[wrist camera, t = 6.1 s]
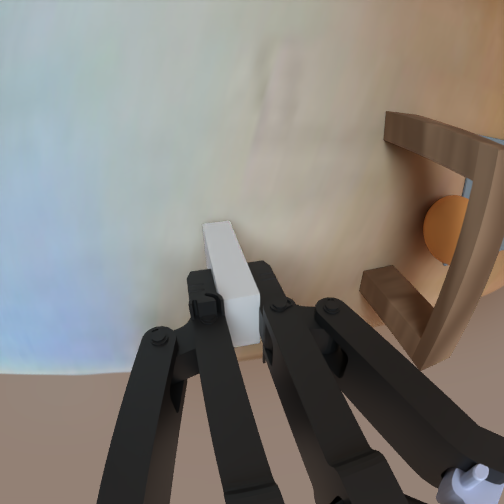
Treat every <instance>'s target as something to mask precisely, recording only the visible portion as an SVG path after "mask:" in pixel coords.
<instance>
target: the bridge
mask: <svg viewBox="0 0 504 504" xmlns="http://www.w3.org/2000/svg"><path fill="white" fill-rule="evenodd" d="M384 140H385V141H388V142H390V143H393V144H395V145H398V146H400V147H402V148H405V149H407V150H409V151H412V152H414V153H416V154H419V155H421V156H423V157H425V158H427V159H430V160H432V161H434V162H436V163H438V164H440V165H442V166H444V167H446V168H448V169H450V170H452V171H454V172H456V173H458V174H460V175H462V176H464V177H466V178H468V179H470V180H472V181H473V183H472V188H471V192H470V197H469V201H468V205H467V209H466V213H465V217H464V221H463V224H462V228H461V231H460V235H459V238H458V242H457V245H456V248H455V251H454V255H453V258H452V261H451V264H450V267H449V270H448V272H447V275H446V278H445V281H444V284H443V286H442V289H441V292H440V294H439V297H438V299H437V302H436V304H435V307H434V308H433V307H432V306H431V304H430V303H429V302H428V301H427V300H426V299H425V298H424V297H423V296H422V295H421V294H420V293H419V292H418V291H417V290H416V289H415V288H414V286H413V285H412V284H411V283H410V282H409V281H408V280H407V279H406V278H405V277H404V276H403V275H402V274H401V273H400V272H399V271H398V270H397V269H396V268H395V267H394V266H393V265H392V266H387V267H382V268H377V269H372V270H367V271H364V272H363V277H362V281H361V286H360V290H359V291H360V292H361V294H362V295H363V296H364V297H365V299H366V300H367V301H368V302H369V304H370V305H371V306H372V308H373V309H374V310H375V311H376V313H377V314H378V315H379V317H380V318H381V319H382V321H383V322H384V323H385V324H386V326H387V327H388V328H389V330H390V331H391V332H392V334H393V335H394V336H395V338H396V339H397V340H398V342H399V343H400V344H401V346H402V347H403V349H404V350H405V351H406V352H407V354H408V355H409V357H410V358H411V359H412V361H413V362H414V364H415V365H416V366H417V368H418V369H419V370H420V371H422V370H424V369H426V368H428V367H430V366H433V365H435V364H437V363H439V362H441V361H443V360H445V359H447V358H449V357H450V356H451V354H452V353H453V351H454V349H455V347H456V345H457V344H458V342H459V340H460V338H461V336H462V334H463V332H464V330H465V328H466V326H467V324H468V323H469V321H470V318H471V316H472V314H473V312H474V310H475V308H476V306H477V304H478V302H479V299H480V297H481V295H482V293H483V290H484V288H485V286H486V283H487V281H488V279H489V276H490V274H491V271H492V269H493V266H494V263H495V261H496V258H497V255H498V253H499V250H500V247H501V244H502V241H503V238H504V145H502V144H499V143H497V142H495V141H492V140H490V139H487V138H485V137H482V136H479V135H477V134H474V133H471V132H469V131H466V130H463V129H460V128H457V127H454V126H451V125H448V124H445V123H442V122H439V121H436V120H433V119H429V118H426V117H423V116H419V115H413V114H405V113H398V112H389V111H386V121H385V133H384Z"/></svg>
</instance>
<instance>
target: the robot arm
mask: <svg viewBox="0 0 504 504" xmlns="http://www.w3.org/2000/svg"><path fill="white" fill-rule="evenodd" d="M202 226H203V236H204V245H205V255H206V264H207V269H206V270H199V271H192V272H190V273H189V275H188V277H187V285H188V293H189V310H190V315H191V318H190V320H189V321H188V323H187V324H186V325H184V326H183V327H181V328H179V329H177V330H174V331H173V330H172V329H170V328H169V327H163V326H160V327H155V328H152V329H150V330H148V331H147V332H146V333H145V334H144V336H143V338H142V340H141V343H140V346H139V349H138V352H137V355H136V359H135V362H134V365H133V368H132V371H131V375H130V378H129V381H128V384H127V387H126V391H125V394H124V397H123V401H122V404H121V408H120V411H119V415H118V418H117V422H116V426H115V429H114V433H113V436H112V440H111V444H110V448H109V452H108V456H107V460H106V464H105V468H104V473H103V476H102V481H101V485H100V490H99V494H98V499H97V504H169V503H170V495H171V487H172V480H173V473H174V465H175V458H176V451H177V444H178V437H179V430H180V423H181V417H182V411H183V404H184V398H185V392H186V386H187V379H188V378H190V377H192V376H194V375H196V374H199V373H200V378H201V384H202V390H203V396H204V401H205V407H206V412H207V417H208V422H209V427H210V432H211V437H212V442H213V447H214V451H215V456H216V461H217V465H218V469H219V474H220V478H221V483H222V486H223V492H224V498H225V502H226V504H284V501H283V498H282V495H281V492H280V490H279V488H278V485H277V484H276V483H275V481H274V479H273V477H272V473H271V471H270V467H269V464H268V461H267V458H266V455H265V452H264V448H263V445H262V442H261V439H260V436H259V432H258V429H257V426H256V423H255V419H254V416H253V413H252V409H251V406H250V403H249V399H248V396H247V393H246V389H245V385H244V382H243V379H242V375H241V371H240V368H239V364H238V361H237V357H236V354H235V350H234V348H235V347H240V346H246V345H251V344H257V343H260V336H261V339H262V342H263V363H265V361H266V362H267V364H268V367H269V370H270V373H271V375H272V378H273V381H274V384H275V387H276V389H277V392H278V395H279V398H280V400H281V403H282V406H283V408H284V411H285V414H286V417H287V419H288V422H289V425H290V428H291V430H292V433H293V436H294V438H295V441H296V443H297V446H298V449H299V452H300V454H301V457H302V460H303V462H304V465H305V467H306V470H307V473H308V475H309V478H310V481H311V483H312V486H313V489H314V498H315V502H316V504H427V503H424V502H422V501H420V500H417V499H415V498H412V497H410V496H408V495H405V494H404V493H403V492H402V490H401V488H400V486H399V484H398V482H397V480H396V478H395V476H394V474H393V472H392V470H391V468H390V466H389V464H388V463H387V460H386V459H385V457H384V456H383V454H381V453H380V452H379V451H376V450H373V449H371V447H370V446H369V444H368V442H367V440H366V438H365V436H364V435H363V433H362V431H361V429H360V427H359V425H358V423H357V421H356V419H355V417H354V415H353V413H352V411H351V409H350V407H349V405H348V403H347V401H346V399H345V397H344V395H343V394H342V392H343V393H344V394H345V395H346V396H347V398H348V399H349V400H350V401H351V402H352V403H353V404H354V406H356V408H357V409H358V410H359V411H360V412H361V413H362V414H363V416H364V417H365V418H366V419H367V420H368V421H369V422H370V423H371V424H372V425H373V427H374V428H375V429H376V430H377V431H378V432H379V433H380V434H381V435H382V436H383V438H384V439H385V440H386V441H387V442H388V443H389V444H390V445H391V446H392V447H393V448H394V450H395V451H396V452H397V453H398V454H399V455H400V456H401V457H402V458H403V459H404V460H405V461H406V462H407V464H408V465H409V466H410V467H411V468H412V469H413V470H414V471H415V472H416V473H417V474H418V475H419V476H420V477H421V478H422V479H424V480H425V481H427V482H428V483H429V484H431V485H432V486H434V487H436V488H438V493H437V496H436V499H437V501H438V503H440V504H498V501H499V499H500V496H501V493H502V491H503V488H504V437H502V436H500V435H498V434H496V433H493V432H491V431H489V430H487V429H484V428H482V427H480V426H478V425H477V424H476V423H475V422H474V421H473V420H472V419H471V418H470V417H469V416H468V415H467V414H465V412H464V411H463V410H461V409H460V408H459V407H458V406H457V405H456V404H455V403H454V402H453V401H452V400H451V399H450V398H449V397H448V396H447V395H445V394H444V393H443V392H442V391H441V390H440V389H439V388H438V387H437V386H436V385H434V383H433V382H431V381H430V380H429V379H428V378H427V377H426V376H425V375H424V374H423V373H422V372H421V371H420V370H418V369H417V368H416V367H415V366H414V365H413V364H412V363H411V362H410V361H409V360H408V359H406V358H405V357H404V356H403V355H402V354H401V353H400V352H399V351H398V350H396V349H395V348H394V347H393V346H392V345H391V344H390V343H389V342H388V341H386V340H385V339H384V338H383V337H382V336H381V335H380V334H379V333H378V332H377V331H375V330H374V329H373V328H372V327H371V326H370V325H369V324H368V323H366V322H365V321H364V320H363V319H362V318H361V317H360V316H359V315H358V314H356V313H355V312H354V311H353V310H352V309H351V308H350V307H348V306H347V305H346V304H345V303H344V302H342V301H341V300H339V299H336V298H323V299H321V300H319V301H318V302H317V304H316V306H315V307H305V306H299V305H296V304H295V302H294V301H293V300H292V299H290V298H288V297H286V296H285V294H284V292H283V290H282V288H281V286H280V284H279V282H278V280H277V279H276V276H275V274H274V273H273V271H272V269H271V267H270V265H268V264H267V263H266V262H264V261H257V262H250V263H247V262H246V259H245V257H244V254H243V252H242V250H241V247H240V245H239V242H238V240H237V238H236V235H235V233H234V230H233V228H232V225H231V223H230V221H221V222H213V223H205V224H202ZM341 391H342V392H341Z"/></svg>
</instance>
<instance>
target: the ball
mask: <svg viewBox="0 0 504 504" xmlns="http://www.w3.org/2000/svg"><path fill="white" fill-rule="evenodd" d="M468 201H469V199H467V198H465V197H462V196H457V195H452V196H446V197H443V198H441V199H439V200H438V201H436V202H435V203H434V204H433V205H432V206H431V207H430V209H429V210H428V212H427V214H426V217H425V220H424V225H423V234H424V240H425V243H426V245H427V247H428V249H429V251H430V252H431V254H432V255H433V256H434V257H435V258H436V259H438V260H439V261H441V262H442V263H445V264H448V265H450V264H451V261H452V258H453V255H454V251H455V248H456V245H457V242H458V238H459V235H460V231H461V228H462V224H463V221H464V217H465V213H466V209H467V205H468Z"/></svg>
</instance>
